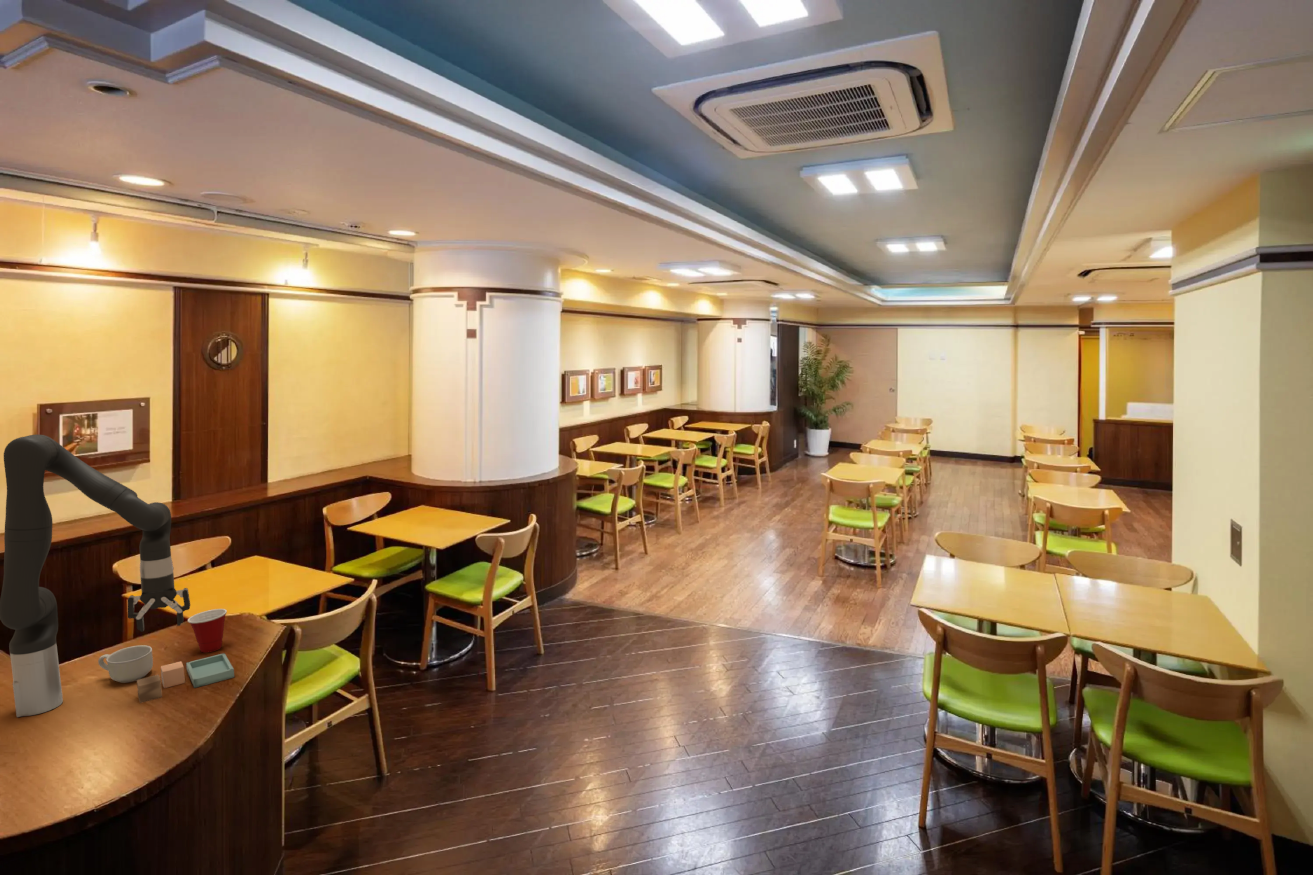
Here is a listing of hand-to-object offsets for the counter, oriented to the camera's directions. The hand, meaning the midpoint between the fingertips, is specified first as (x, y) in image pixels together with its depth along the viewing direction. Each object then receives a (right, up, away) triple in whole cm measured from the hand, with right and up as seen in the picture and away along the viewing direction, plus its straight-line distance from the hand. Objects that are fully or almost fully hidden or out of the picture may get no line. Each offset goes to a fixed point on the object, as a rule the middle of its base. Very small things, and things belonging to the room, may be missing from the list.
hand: (161, 627), depth 190 cm
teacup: (-16, -18, +8) cm, 26 cm away
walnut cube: (-1, -19, -3) cm, 19 cm away
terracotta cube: (0, -18, +5) cm, 19 cm away
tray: (+7, -17, +11) cm, 21 cm away
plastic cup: (-5, -15, +28) cm, 32 cm away
